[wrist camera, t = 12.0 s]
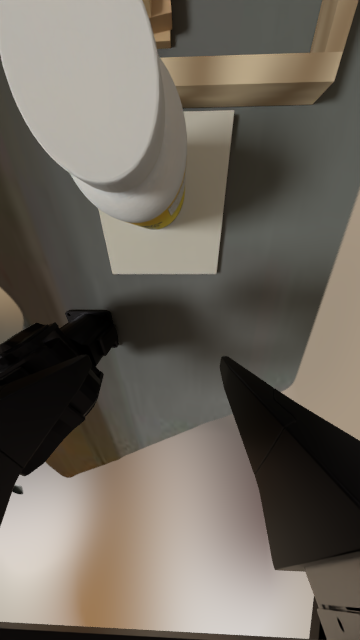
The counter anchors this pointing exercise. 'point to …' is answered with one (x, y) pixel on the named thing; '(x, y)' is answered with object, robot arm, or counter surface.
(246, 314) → the counter surface
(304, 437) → the robot arm
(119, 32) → the pill bottle
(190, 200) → the pale grey mat
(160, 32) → the offcut stack
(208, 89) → the birch rack
